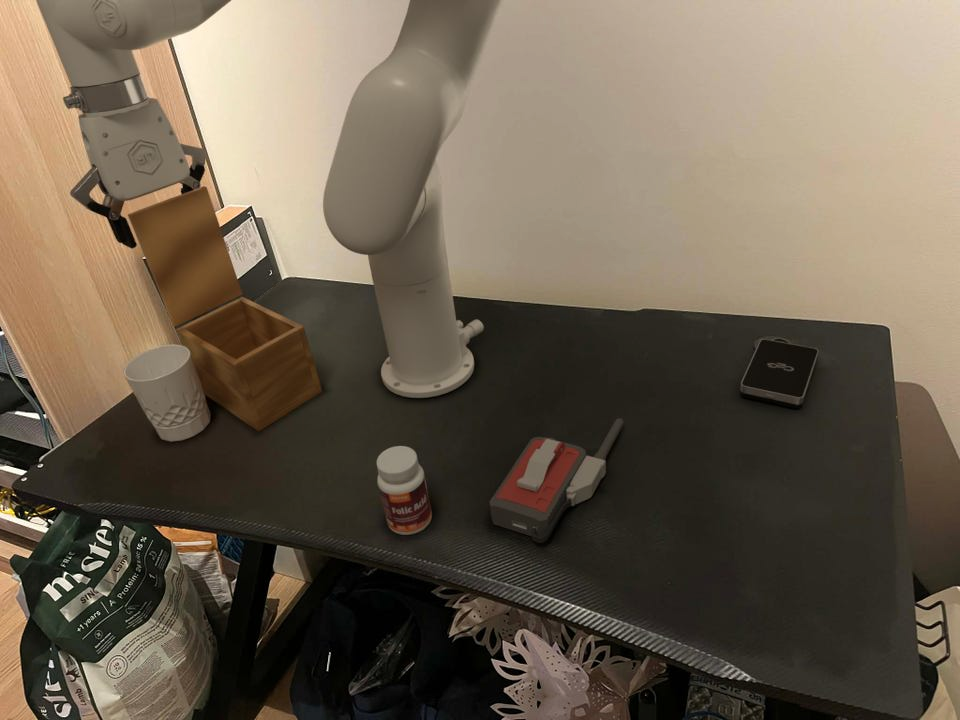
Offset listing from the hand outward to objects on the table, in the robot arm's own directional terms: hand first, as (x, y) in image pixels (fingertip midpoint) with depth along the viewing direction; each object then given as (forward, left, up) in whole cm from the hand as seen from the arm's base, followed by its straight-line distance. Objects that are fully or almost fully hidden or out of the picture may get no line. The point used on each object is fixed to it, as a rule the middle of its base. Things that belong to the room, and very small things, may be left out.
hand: (164, 231), depth 93 cm
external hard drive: (-39, +66, -21) cm, 80 cm away
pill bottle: (+4, +46, -21) cm, 51 cm away
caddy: (0, +12, -21) cm, 24 cm away
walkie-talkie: (-10, +55, -21) cm, 60 cm away
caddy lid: (0, +5, -3) cm, 6 cm away
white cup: (+10, +10, -21) cm, 25 cm away
